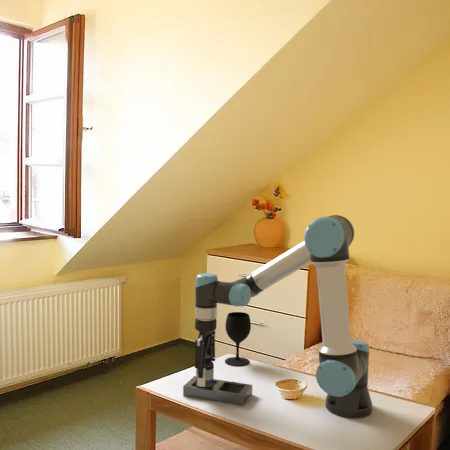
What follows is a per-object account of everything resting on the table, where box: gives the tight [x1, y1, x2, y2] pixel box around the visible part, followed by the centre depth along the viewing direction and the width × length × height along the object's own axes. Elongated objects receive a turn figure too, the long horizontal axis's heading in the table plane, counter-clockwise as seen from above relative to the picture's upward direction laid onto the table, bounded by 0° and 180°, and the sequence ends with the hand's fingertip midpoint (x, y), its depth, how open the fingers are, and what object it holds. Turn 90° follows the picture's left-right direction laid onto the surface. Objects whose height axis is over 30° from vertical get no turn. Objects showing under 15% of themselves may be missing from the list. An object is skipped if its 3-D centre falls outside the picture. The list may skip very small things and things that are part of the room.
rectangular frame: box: [182, 375, 253, 407], centre depth 183 cm, size 22×10×4 cm, turn 71°
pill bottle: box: [195, 354, 215, 389], centre depth 184 cm, size 6×6×11 cm
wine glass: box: [224, 311, 252, 367], centre depth 216 cm, size 10×10×20 cm
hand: (204, 382), depth 184 cm, fingers closed on pill bottle, 6 cm apart
